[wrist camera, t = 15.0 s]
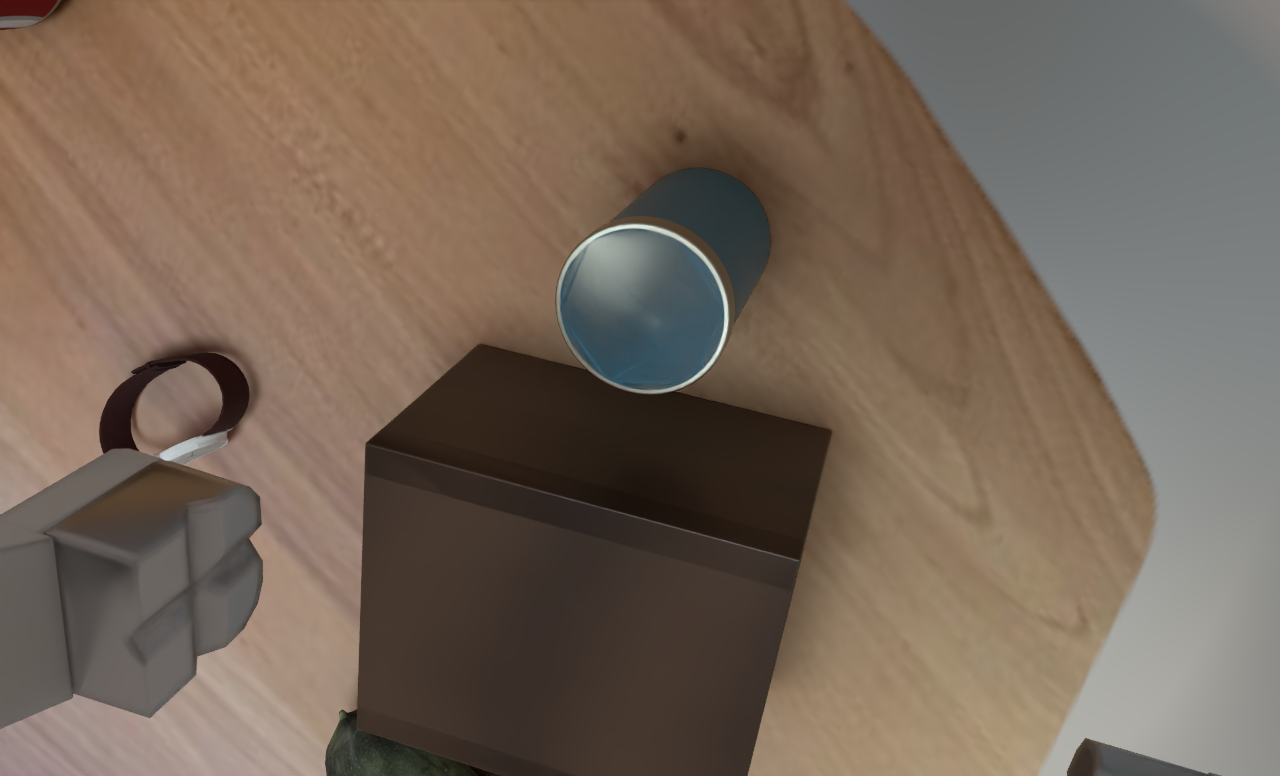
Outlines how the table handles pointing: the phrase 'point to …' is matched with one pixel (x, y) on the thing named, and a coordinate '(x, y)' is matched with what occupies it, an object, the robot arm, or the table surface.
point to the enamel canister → (664, 282)
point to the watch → (234, 406)
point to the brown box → (578, 572)
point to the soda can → (24, 12)
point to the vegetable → (382, 755)
